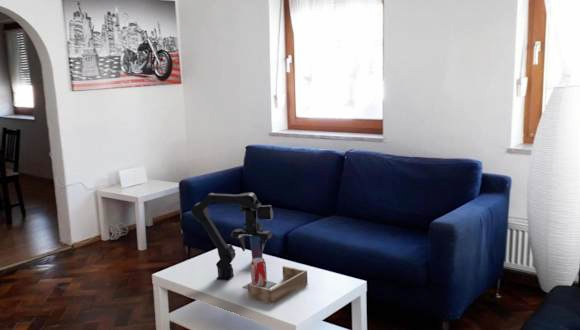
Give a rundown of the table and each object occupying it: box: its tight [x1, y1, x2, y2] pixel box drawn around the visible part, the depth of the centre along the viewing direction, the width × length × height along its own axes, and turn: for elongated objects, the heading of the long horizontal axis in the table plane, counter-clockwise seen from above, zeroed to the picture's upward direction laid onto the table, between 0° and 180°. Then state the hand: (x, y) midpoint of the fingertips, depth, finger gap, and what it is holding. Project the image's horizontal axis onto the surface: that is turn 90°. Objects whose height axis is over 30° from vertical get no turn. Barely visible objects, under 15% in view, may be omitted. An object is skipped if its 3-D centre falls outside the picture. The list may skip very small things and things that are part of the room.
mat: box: [242, 280, 277, 290], centre depth 250 cm, size 11×11×1 cm
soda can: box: [250, 257, 268, 287], centre depth 249 cm, size 7×7×12 cm
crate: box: [247, 265, 309, 305], centre depth 243 cm, size 13×26×6 cm, turn 144°
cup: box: [248, 231, 263, 260], centre depth 280 cm, size 7×7×15 cm
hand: (252, 251), depth 257 cm, fingers open, 9 cm apart
